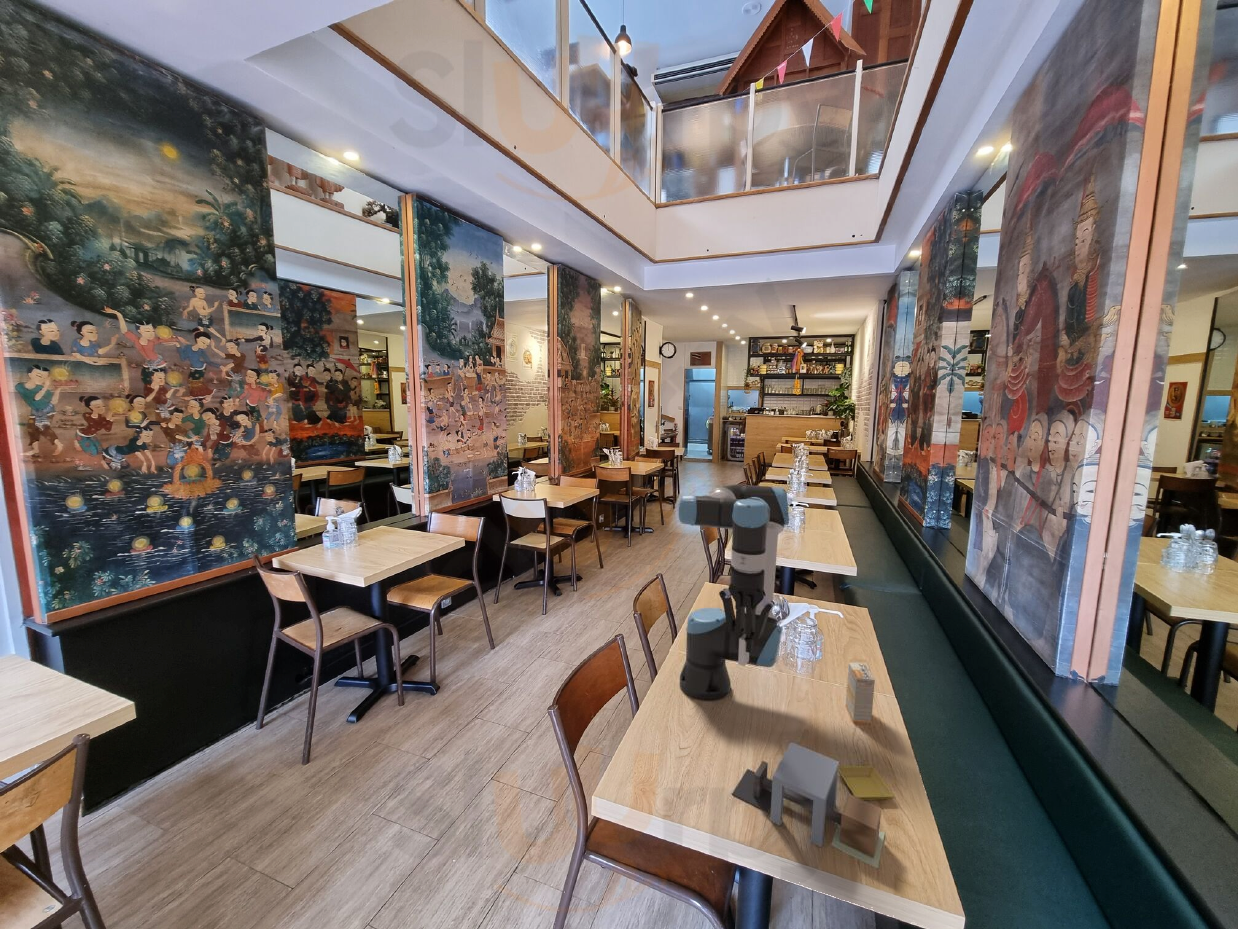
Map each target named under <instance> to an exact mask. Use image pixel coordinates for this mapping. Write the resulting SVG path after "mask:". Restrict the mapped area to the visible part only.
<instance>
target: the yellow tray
mask: <svg viewBox="0 0 1238 929" xmlns="http://www.w3.org/2000/svg"><path fill="white" fill-rule="evenodd" d="M838 773H839V774H840V776H841V777H842V778H843V781H844V782H845V783H846V785H847V786H848V789H849V790H850V792H851V793H852V795H853V796H855V797H857V798H859V799H862V800H864V801H875V800H876V801H877V800H878V801H879V800H890V799H892V798H894V793H893V792H892V790H891V789H890V788H889V786H888V785H887V784H886V782H885V781H884V780H883V778H882V777H881V775H880V774H879V772H878V771H877V770H876V768H875V767H874V766H871V765H865V766H864V765H861V766H856V765H853V766H848V765H847V766H839V770H838Z"/></svg>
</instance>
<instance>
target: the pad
mask: <svg viewBox="0 0 1238 929" xmlns="http://www.w3.org/2000/svg"><path fill="white" fill-rule="evenodd" d="M840 830H841V825H839V824H837V826H836V829H835V833H834V835H833V839H832V842H831V846H832V847H834V848H836V849H839V851H842V852H844V853H846V854H848V855H850V856H851V857H854V858H856V859H857V860H859V861H861V862H864V863H866V864H867V865H869V866H871V867H874V868H875V869H878V867H879V863H880V858H881V853H882V849H883V844H884V839H885V834H886V833H885V832H883V831H881V830H879V837H878V842H877V846H876V851H875V855H874V858H872V857H870V856H868V855H866V854H864V853H862V852H860V851H858V850H856V849H854V848H852V847H850V846H848V845H846V844H844V843H842V842H840Z"/></svg>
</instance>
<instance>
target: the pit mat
mask: <svg viewBox="0 0 1238 929" xmlns="http://www.w3.org/2000/svg"><path fill="white" fill-rule="evenodd" d="M755 772H756V771H754V770H751V769H749V768H747V769H746V771H745V772H744V774H743V775H742V776H741V779H740V780H739V782H738V783H737V784H736V787H735V788H734V790H733V791H732V793H731V795H732V796H734V797H735V798H739V799H740V800H741V801H744V802H746V803H747V804H749V805H752V806H754V807H756V808H758V809H760V810H761V811H763V812H766V813H767V814H768V813H769V812H770V811H771V798H772V792H770V791H768V790H766V789H764V790H763V792H762V793H761V795H760V797H759V798H757V797H755V796H753V792H754V774H755ZM767 779H768V780H771V781H772V780H773V779H770V778H769V777H767Z"/></svg>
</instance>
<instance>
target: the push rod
mask: <svg viewBox="0 0 1238 929" xmlns="http://www.w3.org/2000/svg"><path fill="white" fill-rule="evenodd" d="M768 764H769V762H767V761H764V760H762V761H761V763H760V764H759V766H758V768H757V769H756V771H754V772H755V774H754V792H753V796H755V797H757V798H759V797H760V795H761V793H762V792H763V790H764V789H766V790H768V791H770V792H772V781H771V780H772V779H771V780H768V779H769V778H768V768H769V767H768V766H769V765H768ZM767 778H768V779H767ZM784 800H787V801H789V802H791V803H794V805H795V804H796V805H797V806H800V807H802V808H803V809H806V810H808V811H809V812H812V813H813V800H811V799H809V798H807V797H805V796H802V795H800V794H798V793H796V792H794V791H792V790H790V789H788V788H786V787H784ZM881 814H882V808H881V807H879V806H878V805H874V803H873V804H872V803H871V802H868V801H867V800H862V799H859V798H857V797H855V796H854V795H853V794H850V793H847V796H846V799H845V801H844V806H843V809H842V812H839V811H836V810H835V809H834V810H832V809H830V808H828V807H826V812H825V820H829V821H831V822H833V823H835V824H837V825H838V824H839V825H841V830H840V842H842V843H844V844H846V845H848V846H850V847H852V848H854V849H856V850H858V851H860V852H862V853H864V854H866V855H868V856H870V857H872V858H874V855H875V851H876V846H877V842H878V837H879V831H880V825H881Z"/></svg>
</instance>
